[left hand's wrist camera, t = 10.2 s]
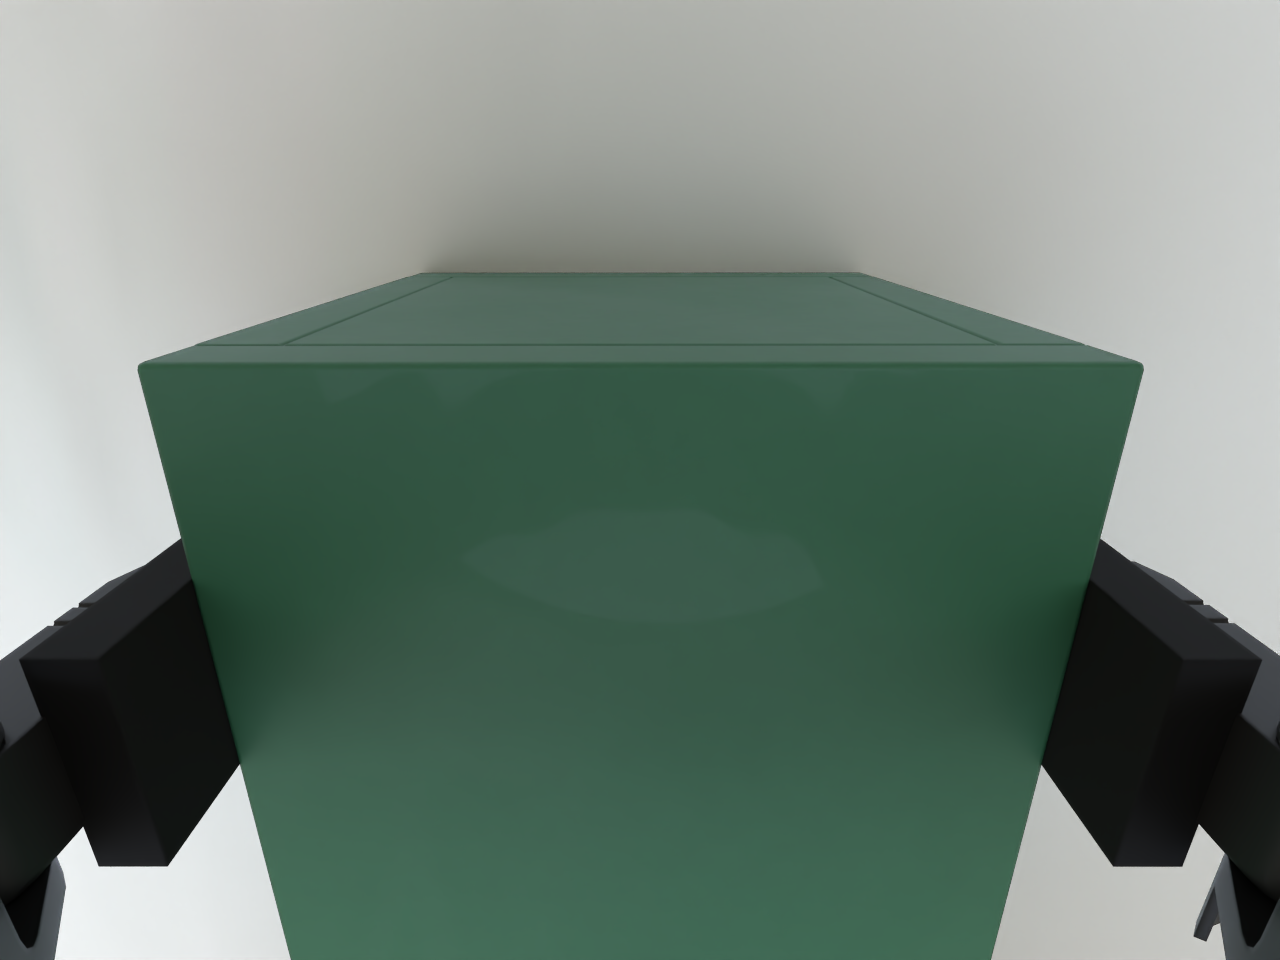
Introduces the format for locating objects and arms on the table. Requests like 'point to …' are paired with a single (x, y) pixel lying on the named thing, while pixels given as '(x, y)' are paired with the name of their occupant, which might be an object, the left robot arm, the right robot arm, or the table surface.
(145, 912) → the table surface
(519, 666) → the cabinet
